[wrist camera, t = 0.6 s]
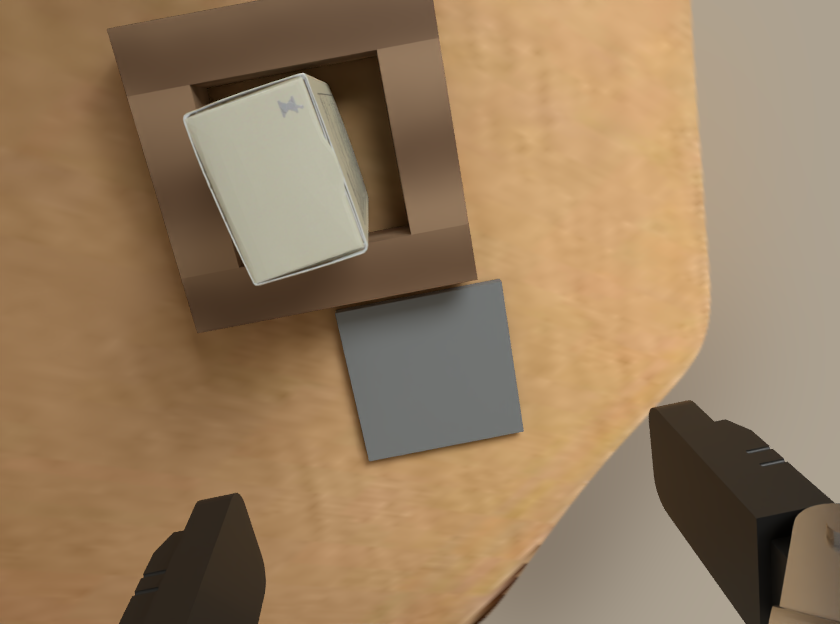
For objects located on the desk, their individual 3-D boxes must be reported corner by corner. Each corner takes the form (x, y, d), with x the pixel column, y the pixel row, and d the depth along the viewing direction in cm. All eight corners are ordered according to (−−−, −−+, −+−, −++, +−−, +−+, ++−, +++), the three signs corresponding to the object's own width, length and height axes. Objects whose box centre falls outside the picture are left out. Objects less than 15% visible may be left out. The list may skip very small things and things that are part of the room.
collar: (131, 37, 31) (106, 28, 28) (423, -18, 31) (428, -32, 28) (212, 315, 35) (197, 333, 32) (469, 266, 35) (477, 279, 32)
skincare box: (246, 109, 32) (171, 104, 20) (329, 80, 32) (302, 58, 20) (294, 232, 34) (250, 293, 22) (373, 206, 34) (371, 252, 22)
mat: (335, 310, 35) (335, 313, 35) (499, 278, 35) (501, 281, 35) (369, 456, 38) (369, 461, 37) (521, 426, 38) (523, 431, 37)
